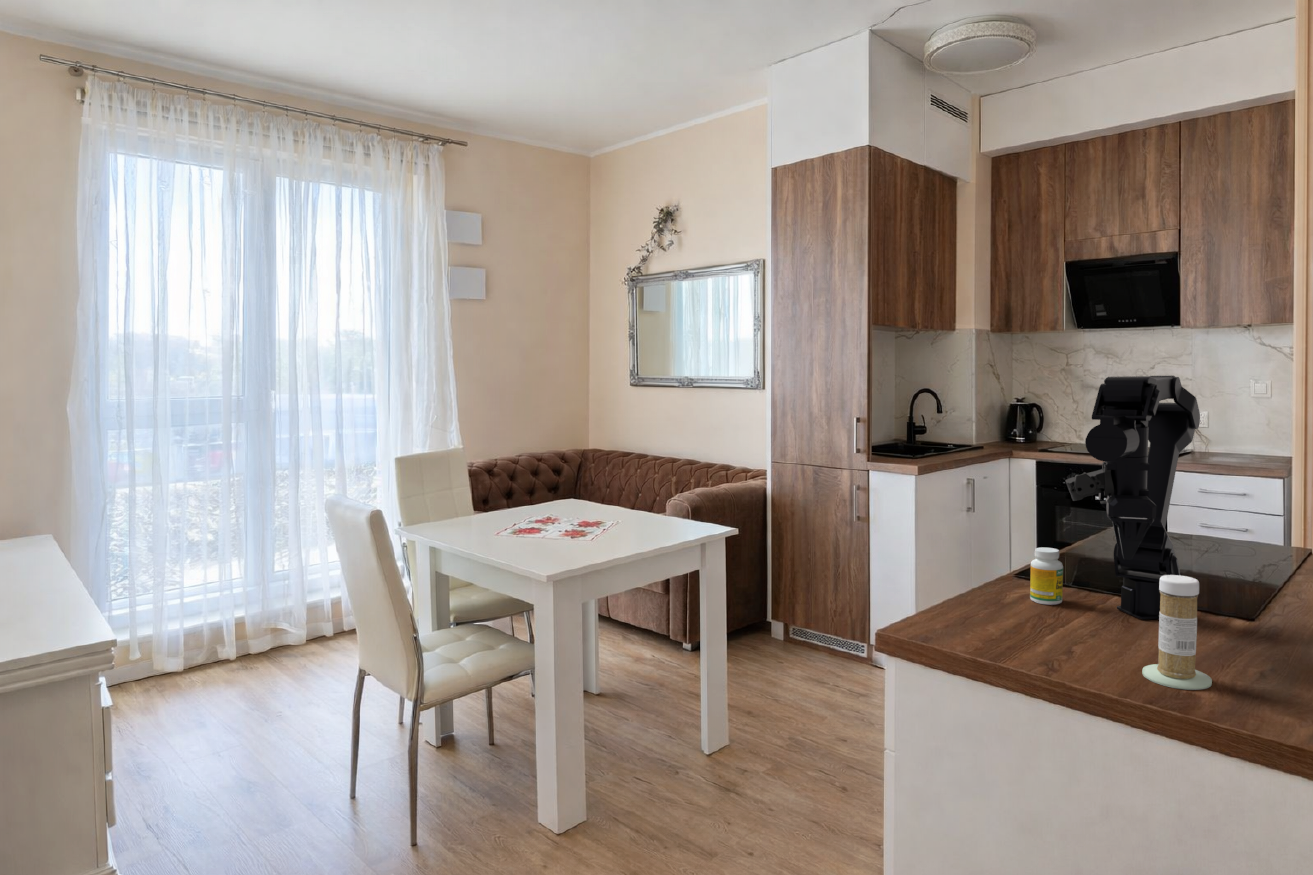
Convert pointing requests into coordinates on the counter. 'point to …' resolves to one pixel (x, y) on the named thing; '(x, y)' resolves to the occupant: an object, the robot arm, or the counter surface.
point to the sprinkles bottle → (1178, 626)
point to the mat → (1189, 684)
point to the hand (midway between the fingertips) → (1124, 552)
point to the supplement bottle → (1046, 577)
